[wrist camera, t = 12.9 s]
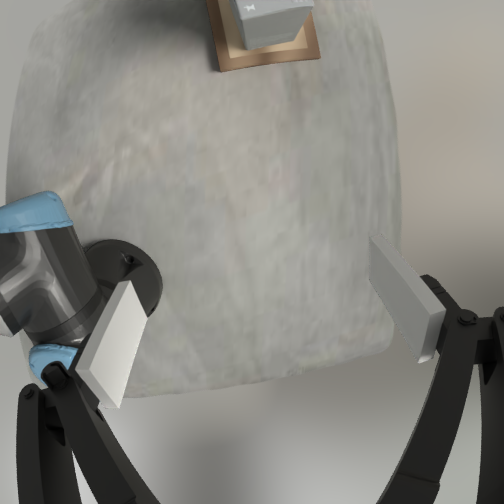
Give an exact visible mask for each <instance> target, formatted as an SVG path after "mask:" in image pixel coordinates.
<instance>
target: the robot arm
mask: <svg viewBox="0 0 504 504" xmlns="http://www.w3.org/2000/svg"><path fill="white" fill-rule="evenodd" d="M369 280H370V282H371V284H372V285H373V287H374V288H375V290H376V292H377V293H378V295H379V297H380V298H381V300H382V301H383V303H384V305H385V306H386V308H387V310H388V311H389V313H390V315H391V316H392V318H393V320H394V322H395V323H396V325H397V327H398V328H399V330H400V331H401V333H402V335H403V337H404V339H405V341H406V342H407V344H408V346H409V348H410V349H411V351H412V353H413V355H414V357H415V359H416V360H417V362H418V363H421V362H424V361H427V360H430V359H432V358H433V357H434V354H435V350H436V349H437V351H438V353H439V354H440V357H439V360H438V363H437V366H436V369H435V373H434V376H433V379H432V382H431V385H430V388H429V391H428V394H427V397H426V400H425V402H424V405H423V407H422V410H421V413H420V415H419V418H418V420H417V423H416V426H415V428H414V430H413V432H412V435H411V437H410V439H409V441H408V444H407V446H406V448H405V450H404V452H403V454H402V457H401V459H400V461H399V463H398V465H397V467H396V469H395V471H394V473H393V475H392V476H391V478H390V481H389V482H388V484H387V486H386V488H385V490H384V491H383V493H382V495H381V496H380V498H379V500H378V501H377V503H376V504H433V503H434V501H435V498H436V496H437V494H438V491H439V487H440V483H439V482H440V478H441V475H442V473H443V470H444V468H445V465H446V462H447V460H448V457H449V454H450V451H451V449H452V445H453V443H454V440H455V437H456V434H457V430H458V427H459V423H460V420H461V417H462V413H463V409H464V405H465V401H466V398H467V393H468V389H469V384H470V380H471V375H472V370H473V365H474V364H478V367H479V377H480V392H481V417H482V437H481V438H482V440H481V463H480V475H479V485H478V495H477V502H476V504H504V307H499V308H497V309H496V310H495V312H494V315H493V317H484V318H478V316H477V315H476V314H475V313H474V312H472V311H470V310H466V309H461V308H460V307H459V306H458V305H457V303H456V302H455V301H454V300H453V298H452V297H451V296H450V295H449V294H448V293H447V292H446V290H445V289H444V288H443V287H442V286H441V285H440V283H439V282H438V281H437V280H436V279H434V278H433V277H431V276H429V275H423V276H419V275H418V274H417V273H416V272H415V271H414V270H413V268H412V267H411V266H410V265H409V264H408V263H407V261H406V260H405V259H404V258H403V257H402V256H401V255H400V253H399V252H398V251H397V250H396V249H395V248H394V247H393V246H392V245H391V243H390V242H389V241H388V240H387V239H386V238H385V237H384V236H383V235H382V234H381V235H376V236H371V237H369ZM162 289H163V284H162V278H161V275H160V272H159V270H158V268H157V266H156V264H155V263H154V261H153V260H152V259H151V258H150V257H149V256H148V255H147V254H146V253H145V252H144V251H142V250H141V249H140V248H138V247H136V246H134V245H132V244H130V243H127V242H124V241H120V240H106V241H102V242H99V243H97V244H95V245H93V246H92V247H91V248H90V249H89V250H88V251H87V252H86V253H84V251H83V249H82V247H81V244H80V242H79V239H78V237H77V234H76V232H75V230H74V227H73V221H72V220H70V218H69V216H68V214H67V212H66V209H65V207H64V205H63V202H62V200H61V198H60V197H59V196H58V195H57V194H56V193H54V192H52V191H43V192H40V193H36V194H33V195H30V196H28V197H25V198H22V199H20V200H17V201H14V202H12V203H9V204H7V205H4V206H2V207H0V335H3V336H8V337H13V336H14V335H15V334H16V333H18V332H19V331H20V330H21V329H24V331H25V332H26V334H27V335H28V337H29V338H30V340H31V341H32V343H33V345H34V346H33V348H31V350H30V352H29V354H30V355H29V366H30V368H31V370H32V372H33V373H34V374H35V376H36V377H37V378H38V379H39V380H40V381H41V382H42V383H44V384H45V385H46V386H47V387H48V388H46V389H42V390H41V389H40V388H39V387H38V386H37V385H36V384H34V383H32V384H28V385H26V386H25V387H24V388H23V389H22V390H21V392H20V394H19V399H18V413H17V434H16V463H17V482H18V483H17V484H18V497H19V504H82V502H81V497H80V493H79V489H78V483H77V479H76V473H75V467H74V462H73V455H72V451H73V453H74V455H75V458H76V460H77V462H78V464H79V467H80V469H81V471H82V473H83V475H84V477H85V479H86V481H87V483H88V485H89V487H90V489H91V491H92V493H93V495H94V497H95V499H96V501H97V502H98V504H160V503H159V501H158V500H157V499H156V497H155V496H154V495H153V493H152V492H151V491H150V489H149V488H148V486H147V485H146V484H145V482H144V481H143V479H142V478H141V477H140V475H139V474H138V472H137V471H136V469H135V468H134V466H133V465H132V464H131V462H130V460H129V459H128V457H127V456H126V454H125V452H124V451H123V449H122V447H121V446H120V444H119V443H118V441H117V439H116V438H115V436H114V435H113V432H112V431H111V429H110V427H109V425H108V424H107V422H106V420H105V418H104V416H103V415H102V413H101V411H100V410H99V409H98V408H97V407H98V404H99V402H101V404H102V405H103V406H104V407H105V408H107V409H119V408H120V404H121V401H122V398H123V394H124V391H125V387H126V384H127V381H128V377H129V374H130V371H131V367H132V364H133V361H134V358H135V355H136V352H137V349H138V345H139V342H140V339H141V336H142V333H143V330H144V327H145V324H146V321H147V319H148V317H149V316H150V315H151V314H152V313H153V312H154V311H155V309H156V308H157V306H158V303H159V301H160V298H161V295H162Z"/></svg>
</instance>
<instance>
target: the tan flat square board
mask: <svg viewBox="0 0 504 504" xmlns="http://www.w3.org/2000/svg"><path fill="white" fill-rule="evenodd" d="M206 3H207V8H208V13H209V18H210V23H211V28H212V32H213V37H214V42H215V47H216V52H217V57H218V61H219V66H220V71H221V72H226V71H231V70H236V69H242V68H248V67H254V66H260V65H267V64H275V63H283V62H291V61H301V60H313V59H319V58H321V56H320V51H319V46H318V41H317V36H316V31H315V26H314V22H313V17H312V13H311V11H310V13H309V15H308V17H307V18H306V20H305V22H304V24H303V25H302V27H301V29H300V31H299V32H298V34H297V36H296V38H295V40H294V41H291V42H286V43H281V44H275V45H271V46H266V47H262V48H257V49H253V50H249V51H247V50H246V49H245V46H244V43H243V40H242V37H241V35H240V32H239V29H238V26H237V24H236V21H235V18H234V16H233V13H232V9H231V6H230V3H229V0H206Z"/></svg>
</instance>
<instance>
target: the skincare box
mask: <svg viewBox="0 0 504 504" xmlns="http://www.w3.org/2000/svg"><path fill="white" fill-rule="evenodd" d="M229 3H230V6H231V9H232V13H233V16H234V18H235V21H236V24H237V26H238V29H239V32H240V35H241V37H242V40H243V43H244V46H245V49H246V50H247V51H249V50H253V49H257V48H262V47H266V46H271V45H275V44H281V43H286V42H291V41H294V40H295V38H296V36H297V34H298V32H299V31H300V29H301V27H302V25H303V24H304V22H305V20H306V18H307V17H308V15H309V13H310V11H311V10H312V8H313V6H314V2H313V0H229Z"/></svg>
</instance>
